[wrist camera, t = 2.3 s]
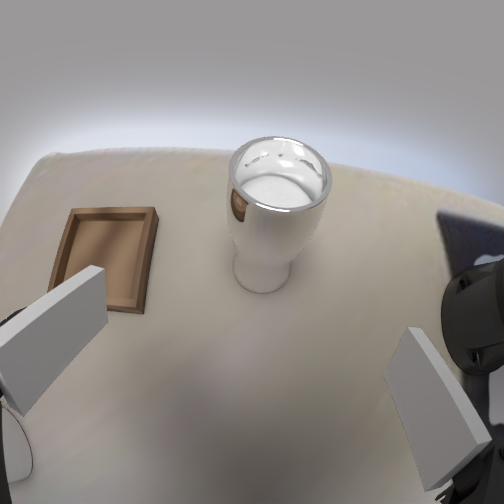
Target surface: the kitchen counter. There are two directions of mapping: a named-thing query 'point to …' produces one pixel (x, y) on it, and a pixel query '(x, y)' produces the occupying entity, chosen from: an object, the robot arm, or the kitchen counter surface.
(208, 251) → the kitchen counter surface
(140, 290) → the tray
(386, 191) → the kitchen counter surface
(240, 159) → the beer glass
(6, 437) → the toilet tissue
